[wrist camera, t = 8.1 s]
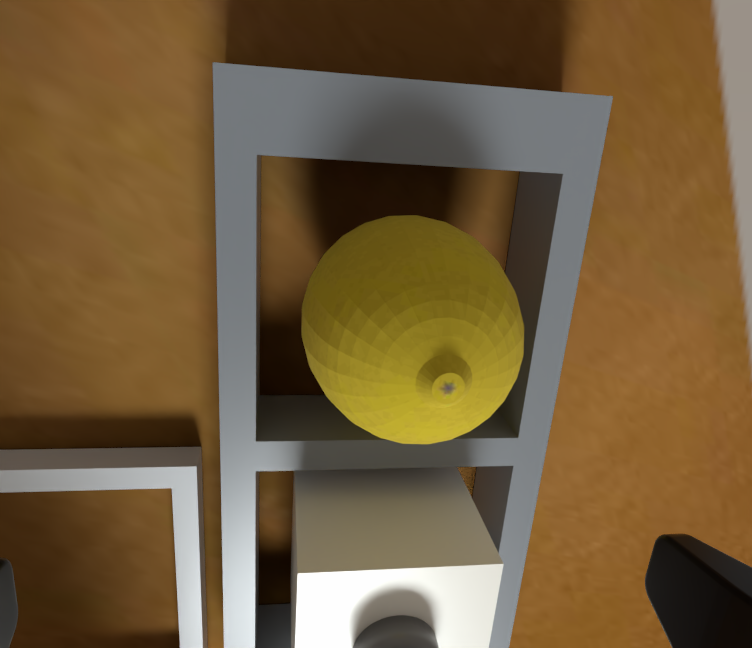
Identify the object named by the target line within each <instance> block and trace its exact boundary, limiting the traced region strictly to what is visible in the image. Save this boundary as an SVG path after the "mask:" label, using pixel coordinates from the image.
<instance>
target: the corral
mask: <svg viewBox="0 0 752 648" xmlns="http://www.w3.org/2000/svg"><path fill="white" fill-rule="evenodd" d="M158 488H172V502H173V522H174V541H175V560H176V579H177V599H178V618H179V637H180V648H208V642H207V610H206V578H205V546H204V515H203V483H202V451H201V447H152V448H86V449H21V450H0V493H4V492H43V491H81V490H119V489H158Z"/></svg>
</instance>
